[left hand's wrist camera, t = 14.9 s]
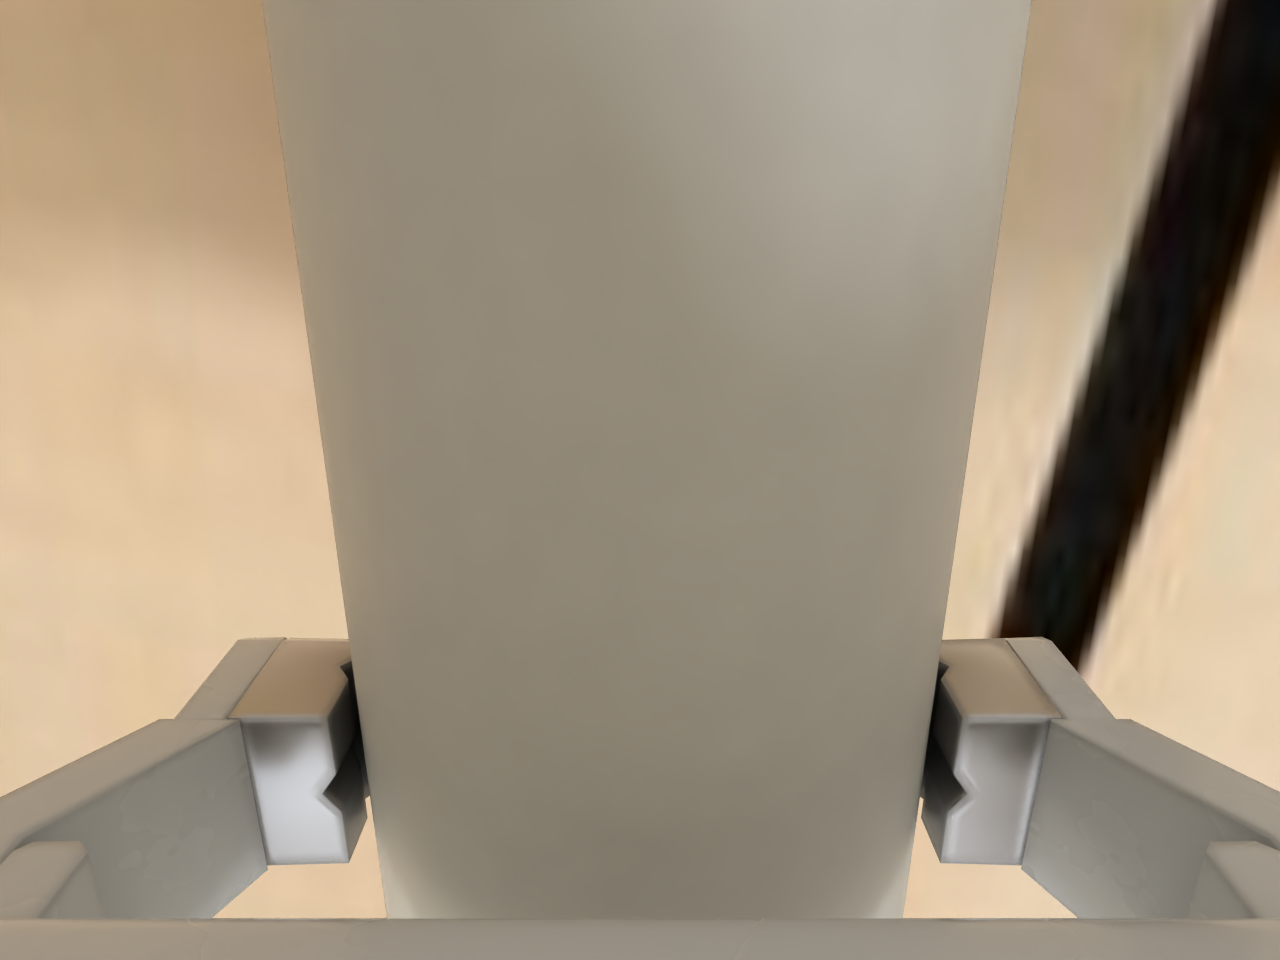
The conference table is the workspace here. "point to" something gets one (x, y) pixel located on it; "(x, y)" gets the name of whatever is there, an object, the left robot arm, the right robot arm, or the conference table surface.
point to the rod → (645, 428)
